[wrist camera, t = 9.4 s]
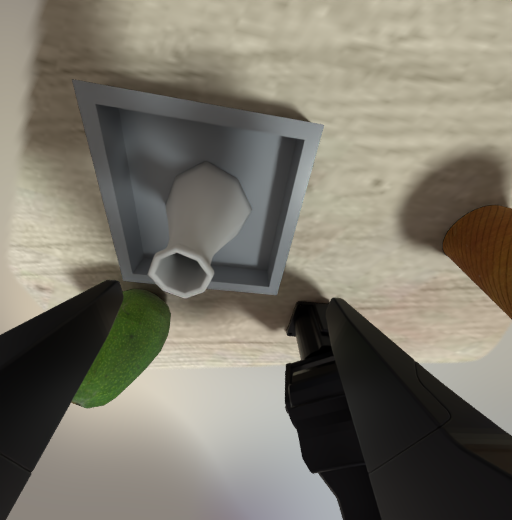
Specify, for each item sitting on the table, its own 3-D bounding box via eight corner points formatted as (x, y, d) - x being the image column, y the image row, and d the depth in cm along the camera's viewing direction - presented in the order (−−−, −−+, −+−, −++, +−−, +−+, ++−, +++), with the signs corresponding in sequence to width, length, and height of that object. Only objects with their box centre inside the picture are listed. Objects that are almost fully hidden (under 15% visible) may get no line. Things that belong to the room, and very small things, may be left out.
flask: (151, 204, 19) (77, 273, 11) (205, 142, 17) (160, 171, 8) (213, 254, 22) (192, 337, 14) (266, 208, 20) (278, 277, 11)
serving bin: (273, 274, 25) (276, 295, 22) (138, 260, 23) (123, 280, 21) (311, 122, 17) (324, 124, 14) (105, 85, 15) (71, 78, 12)
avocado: (114, 265, 24) (18, 374, 14) (185, 286, 26) (145, 394, 16) (110, 311, 28) (33, 421, 18) (171, 326, 30) (132, 433, 20)
